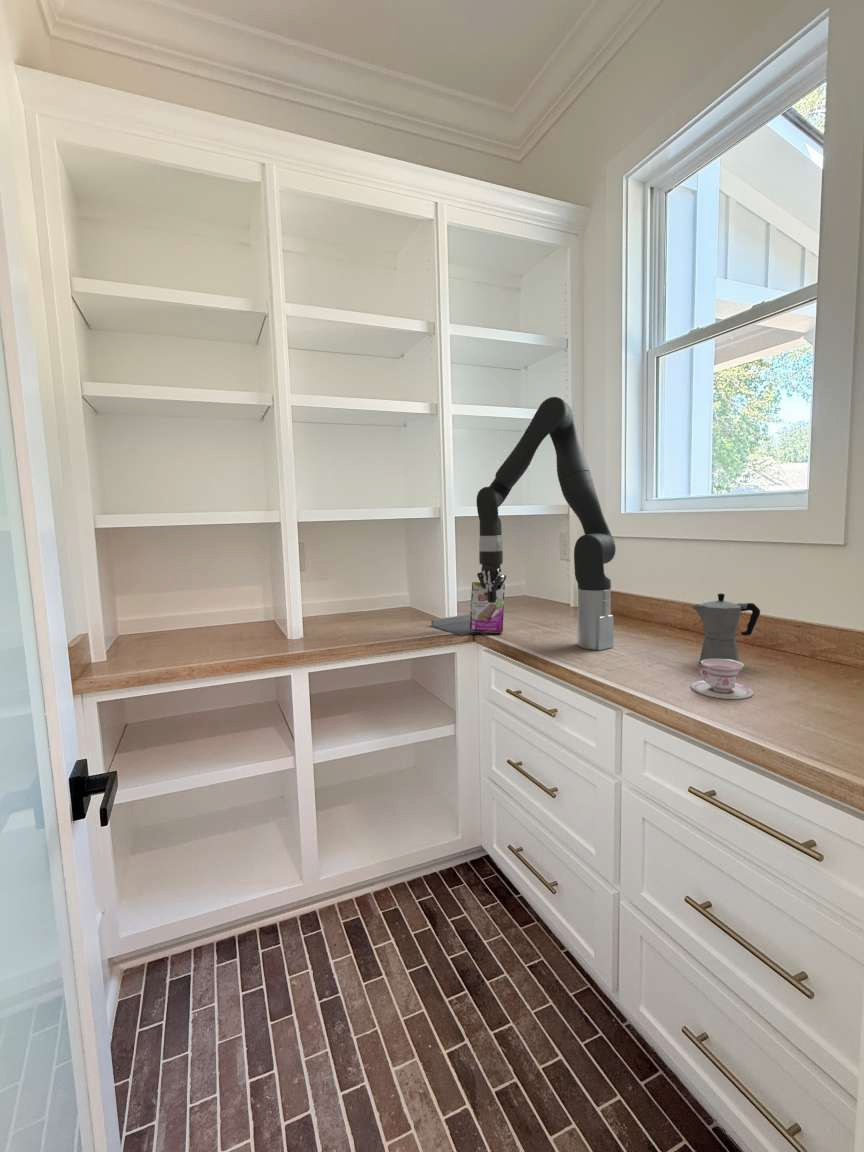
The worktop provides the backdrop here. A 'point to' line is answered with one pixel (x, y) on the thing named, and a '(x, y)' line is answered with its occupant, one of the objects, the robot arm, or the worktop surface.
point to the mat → (455, 625)
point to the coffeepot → (723, 627)
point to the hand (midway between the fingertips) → (491, 602)
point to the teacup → (721, 679)
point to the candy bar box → (486, 610)
